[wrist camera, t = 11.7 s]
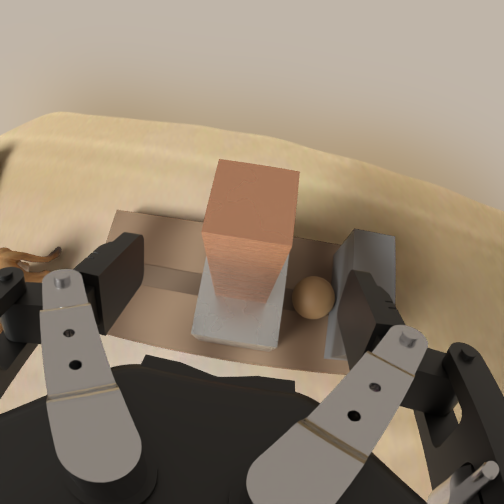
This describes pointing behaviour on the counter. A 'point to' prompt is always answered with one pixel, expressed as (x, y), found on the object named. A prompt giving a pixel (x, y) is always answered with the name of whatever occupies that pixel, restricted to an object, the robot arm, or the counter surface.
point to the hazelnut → (313, 297)
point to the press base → (292, 324)
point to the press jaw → (246, 255)
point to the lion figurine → (25, 264)
